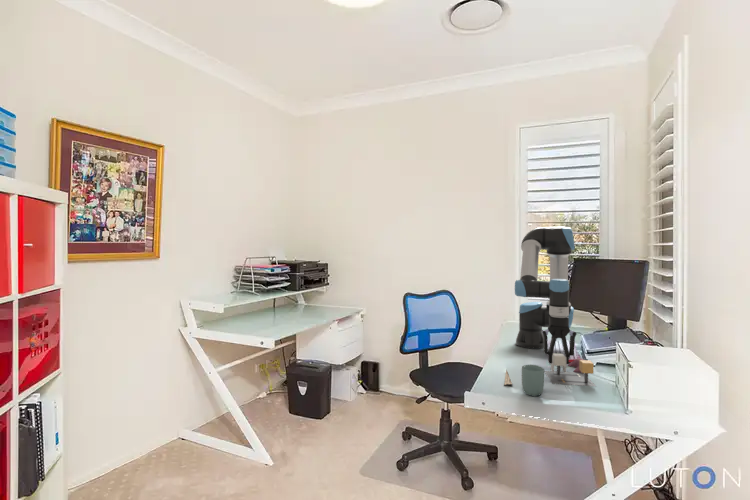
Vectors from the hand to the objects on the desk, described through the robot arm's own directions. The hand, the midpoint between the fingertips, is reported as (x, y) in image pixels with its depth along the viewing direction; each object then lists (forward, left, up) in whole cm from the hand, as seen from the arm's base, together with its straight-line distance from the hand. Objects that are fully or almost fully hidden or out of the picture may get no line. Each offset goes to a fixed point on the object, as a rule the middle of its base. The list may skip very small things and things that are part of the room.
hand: (558, 371), depth 170 cm
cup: (+21, -14, -3) cm, 25 cm away
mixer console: (+4, +3, -3) cm, 6 cm away
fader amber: (+8, +8, -1) cm, 12 cm away
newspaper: (+3, -18, -4) cm, 19 cm away
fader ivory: (0, 0, -1) cm, 1 cm away
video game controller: (-9, +10, -3) cm, 14 cm away
